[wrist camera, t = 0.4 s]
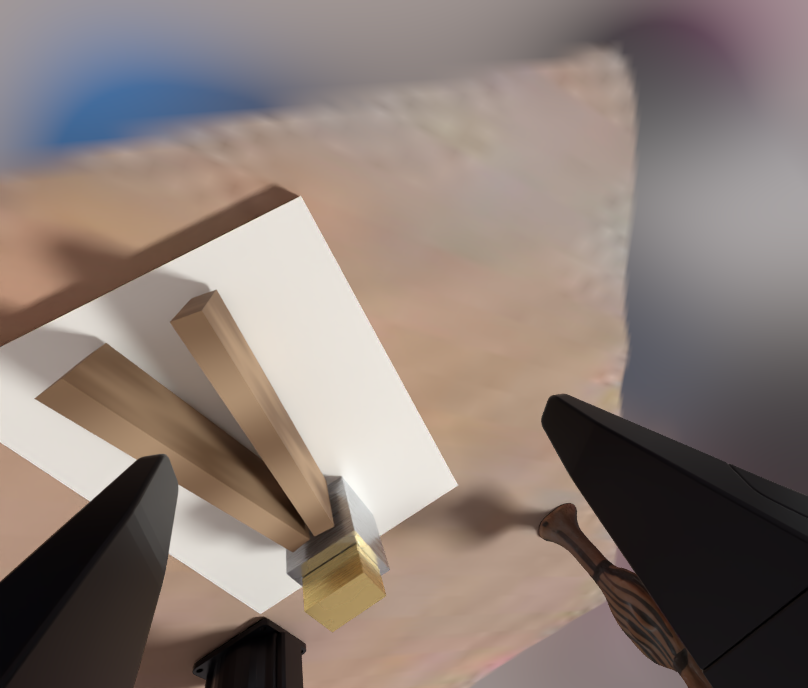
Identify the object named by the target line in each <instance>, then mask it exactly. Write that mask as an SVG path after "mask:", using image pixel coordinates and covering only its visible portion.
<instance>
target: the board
mask: <svg viewBox="0 0 808 688" xmlns="http://www.w3.org/2000/svg"><path fill="white" fill-rule="evenodd" d="M216 289H217V291H218V293H219V294H220V296H221V298H222V300H223V301H224V303H225V305H226V307H227V308H228V310H229V312H230V314H231V315H232V317H233V319H234V321H235V322H236V324H237V326H238V328H239V329H240V331H241V333H242V335H243V336H244V338H245V340H246V342H247V343H248V345H249V347H250V349H251V350H252V352H253V354H254V356H255V357H256V359H257V361H258V363H259V364H260V366H261V368H262V370H263V371H264V373H265V375H266V377H267V378H268V380H269V382H270V384H271V385H272V387H273V389H274V391H275V392H276V394H277V396H278V398H279V399H280V401H281V403H282V404H283V406H284V408H285V410H286V411H287V413H288V415H289V417H290V418H291V420H292V422H293V424H294V425H295V427H296V429H297V431H298V432H299V434H300V436H301V438H302V439H303V441H304V443H305V445H306V446H307V448H308V450H309V452H310V453H311V455H312V457H313V459H314V460H315V462H316V464H317V466H318V467H319V469H320V471H321V473H322V474H323V476H324V478H325V480H326V482H327V485H329V484H330V483H332V482H333V481H335V480H337V479H338V478H340V477H343V478H344V480H345V481H346V482H347V483H348V484H349V486H350V487H351V488H352V489H353V491H354V492H355V493H356V494H357V496H358V497H359V498H360V499H361V500H362V502H363V503H364V504H365V505H366V507H367V508H368V509H369V510H370V512H371V513H372V514H373V516H374V519H375V522H376V526H377V529H378V532H379V535H380V536H381V535H383V534H384V533H386V532H387V531H389V530H390V529H392V528H393V527H395V526H396V525H398V524H399V523H401V522H402V521H404V520H406V519H407V518H409V517H410V516H412V515H413V514H415V513H416V512H418V511H419V510H421V509H422V508H424V507H426V506H427V505H429V504H430V503H432V502H433V501H435V500H436V499H438V498H439V497H441V496H442V495H444V494H445V493H447V492H449V491H450V490H452V489H453V488H455V487H456V486H458V485H457V483H456V481H455V479H454V477H453V475H452V474H451V472H450V470H449V468H448V466H447V464H446V462H445V461H444V459H443V457H442V455H441V453H440V451H439V450H438V448H437V446H436V444H435V442H434V440H433V438H432V437H431V435H430V433H429V431H428V429H427V427H426V426H425V424H424V422H423V420H422V418H421V416H420V415H419V413H418V411H417V409H416V407H415V405H414V403H413V402H412V400H411V398H410V396H409V394H408V392H407V391H406V389H405V387H404V385H403V383H402V381H401V380H400V378H399V376H398V374H397V372H396V370H395V368H394V367H393V365H392V363H391V361H390V359H389V357H388V356H387V354H386V352H385V350H384V348H383V346H382V345H381V343H380V341H379V339H378V337H377V335H376V333H375V332H374V330H373V328H372V326H371V324H370V322H369V321H368V319H367V317H366V315H365V313H364V311H363V310H362V308H361V306H360V304H359V302H358V300H357V298H356V297H355V295H354V293H353V291H352V289H351V287H350V286H349V284H348V282H347V280H346V278H345V276H344V275H343V273H342V271H341V269H340V267H339V265H338V263H337V262H336V260H335V258H334V256H333V254H332V252H331V251H330V249H329V247H328V245H327V243H326V241H325V239H324V238H323V236H322V234H321V232H320V230H319V228H318V227H317V225H316V223H315V221H314V219H313V217H312V216H311V214H310V212H309V210H308V208H307V206H306V204H305V203H304V201H303V199H302V197H301V196H299V197H298V198H296V199H294V200H292V201H290V202H288V203H286V204H284V205H282V206H280V207H278V208H276V209H274V210H272V211H270V212H268V213H266V214H264V215H262V216H260V217H258V218H256V219H254V220H252V221H250V222H248V223H246V224H244V225H242V226H240V227H238V228H236V229H234V230H232V231H230V232H228V233H226V234H224V235H222V236H220V237H218V238H216V239H214V240H212V241H210V242H208V243H206V244H204V245H202V246H200V247H198V248H196V249H194V250H192V251H190V252H188V253H186V254H184V255H182V256H180V257H178V258H176V259H174V260H172V261H170V262H168V263H166V264H164V265H162V266H160V267H158V268H156V269H154V270H152V271H150V272H148V273H146V274H144V275H142V276H140V277H138V278H136V279H134V280H132V281H130V282H128V283H126V284H124V285H122V286H120V287H118V288H116V289H114V290H112V291H111V292H109V293H107V294H105V295H103V296H101V297H99V298H97V299H95V300H93V301H91V302H89V303H87V304H85V305H83V306H81V307H79V308H77V309H75V310H73V311H71V312H69V313H67V314H65V315H63V316H61V317H59V318H57V319H55V320H53V321H51V322H49V323H47V324H45V325H43V326H41V327H39V328H37V329H35V330H33V331H31V332H29V333H27V334H25V335H23V336H21V337H19V338H17V339H15V340H13V341H11V342H9V343H7V344H5V345H3V346H1V347H0V442H1V443H2V444H4V445H5V446H7V447H8V448H10V449H11V450H13V451H14V452H16V453H17V454H19V455H20V456H22V457H23V458H25V459H26V460H28V461H29V462H31V463H32V464H34V465H35V466H37V467H39V468H40V469H42V470H43V471H45V472H46V473H48V474H49V475H51V476H52V477H54V478H55V479H57V480H58V481H60V482H61V483H63V484H64V485H66V486H67V487H69V488H70V489H72V490H73V491H75V492H76V493H78V494H79V495H81V496H82V497H84V498H85V499H87V500H89V501H91V500H92V499H93V498H95V497H96V496H97V495H98V494H99V493H100V492H101V491H102V490H104V489H105V488H106V487H107V486H108V485H109V484H110V483H111V482H113V481H114V480H115V479H116V478H117V477H118V476H119V475H120V474H121V473H123V472H124V471H125V470H126V469H127V468H128V467H129V466H130V465H132V464H133V463H134V462H135V461H136V459H135V458H133V457H131V456H130V455H128V454H126V453H125V452H123V451H121V450H120V449H118V448H116V447H114V446H113V445H111V444H109V443H108V442H106V441H104V440H103V439H101V438H99V437H98V436H96V435H94V434H93V433H91V432H89V431H88V430H86V429H84V428H83V427H81V426H79V425H78V424H76V423H74V422H72V421H71V420H69V419H67V418H66V417H64V416H62V415H61V414H59V413H57V412H56V411H54V410H52V409H51V408H49V407H47V406H46V405H44V404H42V403H41V402H39V401H37V400H36V399H34V398H36V397H37V396H38V395H39V394H41V393H42V392H43V391H44V390H46V389H47V388H48V387H49V386H51V385H52V384H53V383H54V382H56V381H57V380H58V379H59V378H61V377H62V376H63V375H64V374H65V373H67V372H68V371H69V370H70V369H72V368H73V367H74V366H75V365H77V364H78V363H79V362H80V361H82V360H83V359H84V358H86V357H87V356H88V355H90V354H91V353H92V352H94V351H95V350H97V349H98V348H99V347H101V346H102V345H104V344H105V343H107V344H109V345H110V346H111V347H113V348H114V349H115V350H117V351H118V352H119V353H121V354H122V355H123V356H125V357H126V358H127V359H129V360H130V361H131V362H133V363H134V364H135V365H137V366H138V367H139V368H141V369H142V370H143V371H145V372H146V373H147V374H149V375H150V376H151V377H153V378H154V379H155V380H157V381H158V382H159V383H161V384H162V385H163V386H165V387H166V388H167V389H169V390H170V391H171V392H173V393H174V394H175V395H177V396H178V397H179V398H181V399H182V400H183V401H185V402H186V403H187V404H189V405H190V406H191V407H193V408H194V409H195V410H197V411H198V412H199V413H201V414H202V415H203V416H205V417H206V418H207V419H209V420H210V421H211V422H213V423H214V424H215V425H217V426H218V427H219V428H221V429H222V430H223V431H225V432H226V433H227V434H229V435H230V436H231V437H233V438H234V439H235V440H237V441H238V442H239V443H241V444H242V445H243V446H245V447H246V448H247V449H249V450H250V451H251V452H253V453H254V454H255V455H257V456H258V457H259V458H261V457H260V455H259V454H258V452H257V451H256V449H255V448H254V446H253V445H252V443H251V442H250V440H249V439H248V437H247V436H246V434H245V433H244V431H243V430H242V428H241V427H240V425H239V424H238V422H237V421H236V420H235V418H234V417H233V415H232V414H231V412H230V411H229V409H228V408H227V406H226V405H225V403H224V402H223V400H222V399H221V397H220V396H219V394H218V393H217V391H216V390H215V388H214V387H213V386H212V384H211V383H210V381H209V380H208V378H207V377H206V375H205V374H204V372H203V371H202V369H201V368H200V366H199V365H198V363H197V362H196V360H195V359H194V357H193V356H192V354H191V353H190V351H189V350H188V349H187V347H186V346H185V344H184V343H183V341H182V340H181V338H180V337H179V335H178V334H177V332H176V331H175V329H174V328H173V326H172V325H171V323H170V321H171V320H172V319H173V318H174V317H175V316H176V315H177V313H178V312H179V311H180V310H181V309H182V308H183V307H184V306H185V305H186V304H187V302H188V301H189V300H190V299H191V298H194V297H197V296H199V295H202V294H205V293H208V292H211V291H214V290H216ZM261 459H262V458H261ZM262 460H263V459H262ZM169 554H170V555H172V556H173V557H175V558H176V559H178V560H179V561H181V562H182V563H184V564H185V565H187V566H188V567H190V568H192V569H193V570H195V571H196V572H198V573H199V574H201V575H202V576H204V577H205V578H207V579H208V580H210V581H211V582H213V583H214V584H216V585H217V586H219V587H220V588H222V589H223V590H225V591H226V592H228V593H229V594H231V595H232V596H234V597H235V598H237V599H238V600H240V601H241V602H243V603H245V604H246V605H248V606H249V607H251V608H252V609H254V610H255V611H257V612H258V613H260V614H261V613H263V612H264V611H266V610H267V609H269V608H270V607H272V606H273V605H275V604H277V603H278V602H280V601H281V600H283V599H284V598H286V597H287V596H289V595H290V594H292V593H293V592H295V591H297V590H298V589H300V588H301V587H302V586H301V585H300V584H298V583H297V582H296V581H295V580H293V579H292V578H291V577H290V576H288V575H287V574H286V548H284V547H283V546H281V545H279V544H278V543H276V542H274V541H272V540H271V539H269V538H267V537H266V536H264V535H262V534H261V533H259V532H257V531H256V530H254V529H252V528H251V527H249V526H247V525H246V524H244V523H242V522H241V521H239V520H237V519H235V518H234V517H232V516H230V515H229V514H227V513H225V512H224V511H222V510H220V509H219V508H217V507H215V506H214V505H212V504H210V503H209V502H207V501H205V500H204V499H202V498H200V497H199V496H197V495H195V494H193V493H192V492H190V491H188V490H187V489H185V488H183V487H182V486H180V485H178V498H177V504H176V510H175V516H174V523H173V529H172V535H171V541H170V547H169Z"/></svg>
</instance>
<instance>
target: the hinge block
mask: <svg viewBox="0 0 808 688" xmlns="http://www.w3.org/2000/svg"><path fill="white" fill-rule="evenodd" d="M327 487H328V493H329V499H330V505H331V510H332V516H333V522H334V527H332V528H330V529H328V530H326V531H324V532H322V533H320V534H318V535H316V536H314V535H313V533H312V532H311V530H310V529H309V535H310V540H309V541H307V542H306V543H305V544H303V545H302V546H301V547H300V548H298V549H297V550H296V551H294V552H291V551H289V550H288V549H286V574H287V575H288V576H290V577H291V578H292V579H293V580H295V581H296V582H297V583H298V584H300V585H301V586H302V587H303V581H302V578H304V577H306V576H307V575H309V574H310V573H312V572H313V571H315V570H316V569H318V568H319V567H321V566H323V565H324V564H326V563H327V562H329V561H330V560H332V559H333V558H335V557H336V556H338V555H339V554H341V553H343V552H344V551H346V550H347V549H349V548H350V547H352V546H353V545H355V544H356V543H357V544H358V546H359V547H360V548H361V549H362V550H363V551H364V552H365V553H366V554H367V555H368V556H369V557H370V558H371V560H372V561H373V562H374V563H375V564H376V565H377V566H378V568H379V571H380V575H383V574H384V573H386V572H387V571H389V570H390V568H389V565H388V562H387V558H386V555H385V552H384V548H383V545H382V542H381V539H380V535H379V532H378V529H377V526H376V522H375V519H374V516H373V514H372V513H371V512H370V510H369V509H368V508H367V507H366V505H365V504H364V503H363V502H362V500H361V499H360V498H359V497H358V496H357V494H356V493H355V492H354V491H353V489H352V488H351V487H350V486H349V484H348V483H347V482H346V481H345V480H344V478H343V477H340V478H338V479H337V480H335V481H333V482H332V483H330V484H329V485H327Z"/></svg>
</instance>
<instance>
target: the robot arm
mask: <svg viewBox="0 0 808 688" xmlns="http://www.w3.org/2000/svg"><path fill="white" fill-rule="evenodd" d="M541 423H542V427H543V429H544V430H545V432H546V434H547V436H548V438H549V439H550V441H551V443H552V445H553V447H554V448H555V450H556V452H557V454H558V456H559V457H560V459H561V461H562V463H563V465H564V467H565V468H566V470H567V472H568V473H569V475H570V477H571V478H572V480H573V481H574V483H575V485H576V486H577V488H578V489H579V491H580V492H581V493H582V495H583V496H584V498H585V499H586V501H587V502H588V504H589V505H590V507H591V508H592V510H593V511H594V513H595V514H596V516H597V517H598V519H599V520H600V522H601V523H602V525H603V526H604V527H605V529H606V530H607V532H608V533H609V535H610V536H611V538H612V539H613V541H614V542H615V544H616V545H617V547H618V548H619V550H620V551H621V553H622V554H623V556H624V557H625V558H626V560H627V561H628V563H629V564H630V566H631V567H632V569H633V570H634V572H635V573H636V575H637V576H638V578H639V579H640V581H641V582H642V584H643V585H644V587H645V588H646V590H647V591H648V592H649V594H650V595H651V597H652V598H653V600H654V601H655V603H656V604H657V606H658V607H659V609H660V610H661V612H662V613H663V615H664V616H665V618H666V619H667V621H668V622H669V623H670V625H671V626H672V628H673V629H674V631H675V632H676V634H677V635H678V637H679V638H680V640H681V641H682V643H683V644H684V646H685V647H686V649H687V650H688V652H689V653H690V655H691V656H692V657H693V659H694V660H695V662H696V663H697V665H698V666H699V668H700V669H701V670H702V673H703V674H704V676H705V677H706V679H707V680H708V682H709V683H710V685H711V686H712V688H808V496H807V495H804V494H802V493H799V492H797V491H794V490H792V489H789V488H787V487H784V486H781V485H779V484H777V483H774V482H772V481H769V480H767V479H764V478H762V477H760V476H757V475H755V474H753V473H750V472H748V471H745V470H743V469H741V468H739V467H736V466H734V465H731V464H727V463H726V462H724V461H722V460H719V459H717V458H715V457H712V456H710V455H708V454H705V453H703V452H701V451H699V450H696V449H694V448H692V447H689V446H687V445H684V444H682V443H680V442H677V441H675V440H673V439H670V438H668V437H666V436H663V435H661V434H659V433H656V432H654V431H651V430H649V429H647V428H645V427H642V426H640V425H637V424H635V423H633V422H631V421H628V420H626V419H623V418H621V417H619V416H617V415H614V414H612V413H610V412H607V411H605V410H602V409H600V408H598V407H595V406H593V405H591V404H588V403H586V402H584V401H581V400H579V399H577V398H574V397H572V396H570V395H567V394H557V395H552V396H550V397H549V399H548V401H547V404H546V406H545V409H544V412H543V415H542V418H541ZM177 498H178V481H177V478H176V475H175V473H174V470H173V467H172V465H171V462H170V459H169V457H168V456H167V455H166V454H156V455H149V456H143V457H141V458H139V459H137V460H136V461H135V462H134V463H133V464H132V465H130V466H129V467H128V468H127V469H126V470H125V471H124V472H123V473H121V474H120V475H119V476H118V477H117V478H116V479H115V480H114V481H113V482H111V483H110V484H109V485H108V486H107V487H106V488H105V489H104V490H102V491H101V492H100V493H99V494H98V495H97V496H96V497H95V498H93V499H92V500H91V501H90V502H89V503H88V504H87V505H86V506H84V507H83V508H82V509H81V510H80V511H79V512H78V513H77V514H75V515H74V516H73V517H72V518H71V519H70V520H69V521H68V522H66V523H65V524H64V525H63V526H62V527H61V528H60V529H59V530H58V531H56V532H55V533H54V534H53V535H52V536H51V537H50V538H49V539H47V540H46V541H45V542H44V543H43V544H42V545H41V546H40V547H38V548H37V549H36V550H35V551H34V552H33V553H32V554H31V555H29V556H28V557H27V558H26V559H25V560H24V561H23V562H22V563H20V564H19V565H18V566H17V567H16V568H15V569H14V570H13V571H12V572H10V573H9V574H8V575H7V576H6V577H5V578H4V579H3V580H1V581H0V688H134V684H135V681H136V677H137V673H138V670H139V666H140V663H141V659H142V655H143V652H144V648H145V645H146V641H147V638H148V634H149V630H150V627H151V623H152V620H153V616H154V613H155V609H156V605H157V602H158V598H159V595H160V591H161V587H162V583H163V579H164V575H165V570H166V565H167V560H168V553H169V547H170V541H171V535H172V529H173V523H174V516H175V510H176V504H177ZM305 652H306V644H305V643H303V642H302V641H300V640H299V639H297V638H296V637H294V636H293V635H291V634H290V633H288V632H287V631H285V630H284V629H282V628H281V627H279V626H278V625H276V624H275V623H273V622H272V621H270V620H268V619H264V620H261V621H259V622H258V623H256V624H255V625H253V626H252V627H250V628H248V629H247V630H245V631H244V632H242V633H241V634H239V635H238V636H236V637H235V638H233V639H232V640H230V641H229V642H227V643H226V644H224V645H222V646H221V647H219V648H218V649H216V650H215V651H213V652H212V653H210V654H209V655H207V656H206V657H204V658H203V659H201V660H200V661H198V662H196V663H195V664H194V667H193V674H194V675H196V676H198V677H201V678H203V679H205V680H206V683H205V688H303V674H302V655H303V654H304V653H305Z"/></svg>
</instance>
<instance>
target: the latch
mask: <svg viewBox="0 0 808 688" xmlns="http://www.w3.org/2000/svg"><path fill="white" fill-rule="evenodd" d="M302 581H303V596H304V611H305V612H306V613H307V614H308V615H310V616H311V617H312V618H314V619H315V620H317V621H318V622H319V623H321V624H322V625H323V626H325V627H326V628H327V629H329V630H330V631H331V632H334V631H335V630H337V629H338V628H339V627H341V626H342V625H344V624H345V623H347V622H348V621H350V620H351V619H353V618H354V617H356V616H357V615H359V614H360V613H362V612H363V611H365V610H366V609H368V608H369V607H371V606H372V605H373V604H375V603H376V602H378V601H379V600H381V599H382V598H384V597H385V596H386V593H385V589H384V586H383V582H382V578H381V575H380V571H379V568H378V566H377V565H376V564H375V563H374V562H373V561H372V560H371V558H370V557H369V556H368V555H367V554H366V553H365V552H364V551H363V550H362V549H361V548H360V547H359V546H358V544H357V543H356V544H355V545H353V546H352V547H350V548H349V549H347V550H346V551H344V552H343V553H341V554H339V555H338V556H336V557H335V558H333V559H332V560H330V561H329V562H327V563H326V564H324V565H323V566H321V567H319V568H318V569H316V570H315V571H313V572H312V573H310V574H309V575H307V576H306V577H304V578H302Z"/></svg>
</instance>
